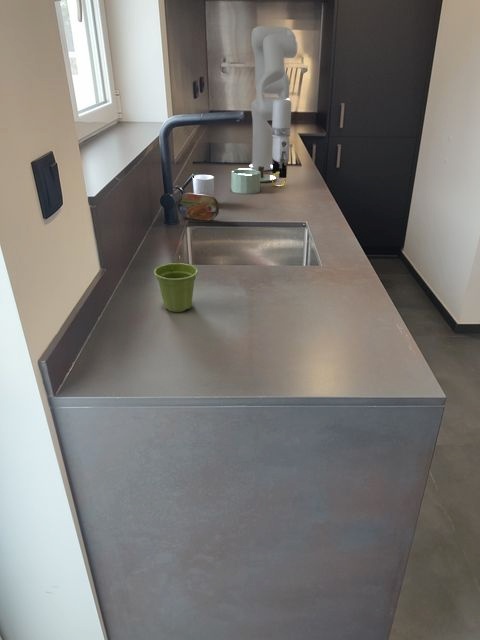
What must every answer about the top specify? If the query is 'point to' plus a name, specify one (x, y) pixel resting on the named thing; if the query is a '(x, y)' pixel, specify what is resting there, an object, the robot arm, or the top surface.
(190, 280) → the plant pot
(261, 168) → the lid
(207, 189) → the white cup
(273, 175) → the gold ring
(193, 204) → the tin
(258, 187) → the crock
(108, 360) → the top surface
